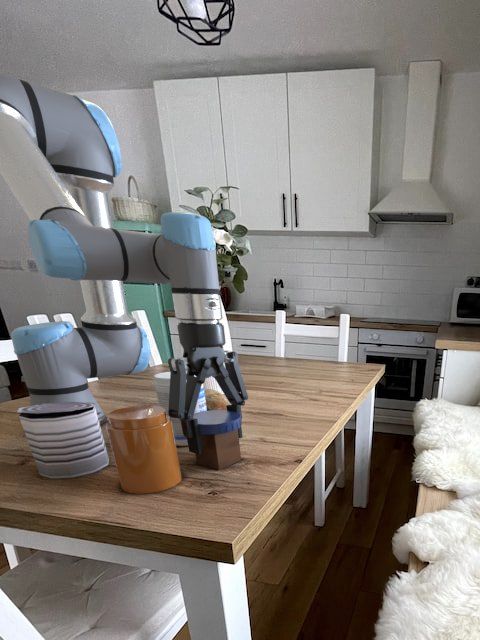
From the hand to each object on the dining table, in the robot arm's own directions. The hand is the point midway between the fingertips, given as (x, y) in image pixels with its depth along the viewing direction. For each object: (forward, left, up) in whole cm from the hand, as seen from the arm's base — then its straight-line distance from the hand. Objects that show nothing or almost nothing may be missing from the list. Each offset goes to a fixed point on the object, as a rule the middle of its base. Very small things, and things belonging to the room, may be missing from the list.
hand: (217, 444), depth 77 cm
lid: (0, 0, +5) cm, 5 cm away
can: (-18, -19, -4) cm, 27 cm away
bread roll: (-33, +20, -4) cm, 39 cm away
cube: (0, 0, -4) cm, 4 cm away
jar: (-1, -13, -4) cm, 14 cm away
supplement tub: (-16, +3, -4) cm, 17 cm away
